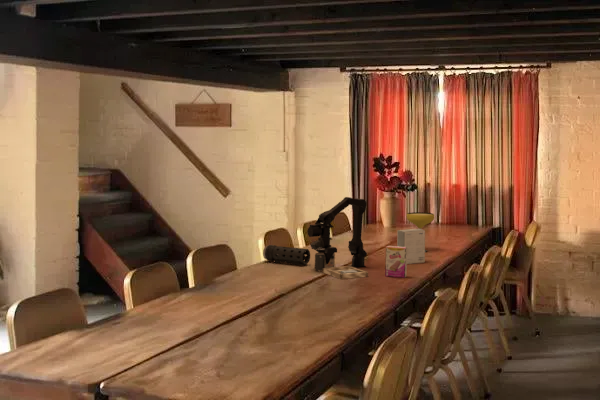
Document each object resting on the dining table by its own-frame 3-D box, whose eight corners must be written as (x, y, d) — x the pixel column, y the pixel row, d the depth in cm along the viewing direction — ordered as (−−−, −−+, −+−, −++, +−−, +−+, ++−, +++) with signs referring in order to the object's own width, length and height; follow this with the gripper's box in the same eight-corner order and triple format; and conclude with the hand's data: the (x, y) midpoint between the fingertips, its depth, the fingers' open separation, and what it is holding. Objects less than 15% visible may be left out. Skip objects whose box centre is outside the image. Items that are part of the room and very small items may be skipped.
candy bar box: (384, 276, 405) (385, 246, 404) (386, 275, 410) (387, 245, 408) (405, 278, 401) (405, 247, 400) (407, 276, 406) (407, 246, 405)
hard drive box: (417, 260, 457) (418, 228, 455) (425, 262, 450) (426, 230, 449) (396, 262, 450) (397, 229, 449) (403, 264, 444) (404, 231, 442)
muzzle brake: (302, 267, 431) (302, 249, 431) (262, 262, 446) (262, 245, 445) (310, 264, 440) (310, 247, 439) (270, 260, 454) (270, 243, 453)
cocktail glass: (401, 249, 502) (402, 212, 500) (426, 248, 506) (427, 212, 504) (412, 253, 484) (413, 215, 482) (437, 252, 489) (438, 215, 486)
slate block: (354, 275, 409) (354, 270, 409) (357, 277, 404) (358, 271, 404) (340, 276, 406) (340, 270, 406) (344, 278, 401) (344, 272, 401)
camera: (317, 271, 418) (317, 253, 417) (313, 269, 423) (313, 252, 422) (335, 270, 422) (336, 252, 421) (331, 268, 427) (331, 251, 426)
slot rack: (349, 270, 422) (349, 266, 422) (368, 276, 404) (368, 272, 404) (322, 272, 415) (322, 268, 415) (340, 279, 396) (340, 274, 396)
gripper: (304, 234, 425) (304, 261, 427) (320, 238, 409) (319, 266, 410) (322, 233, 430) (321, 260, 432) (337, 237, 414) (337, 265, 415)
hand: (324, 263), depth 422 cm, fingers closed on camera, 6 cm apart
